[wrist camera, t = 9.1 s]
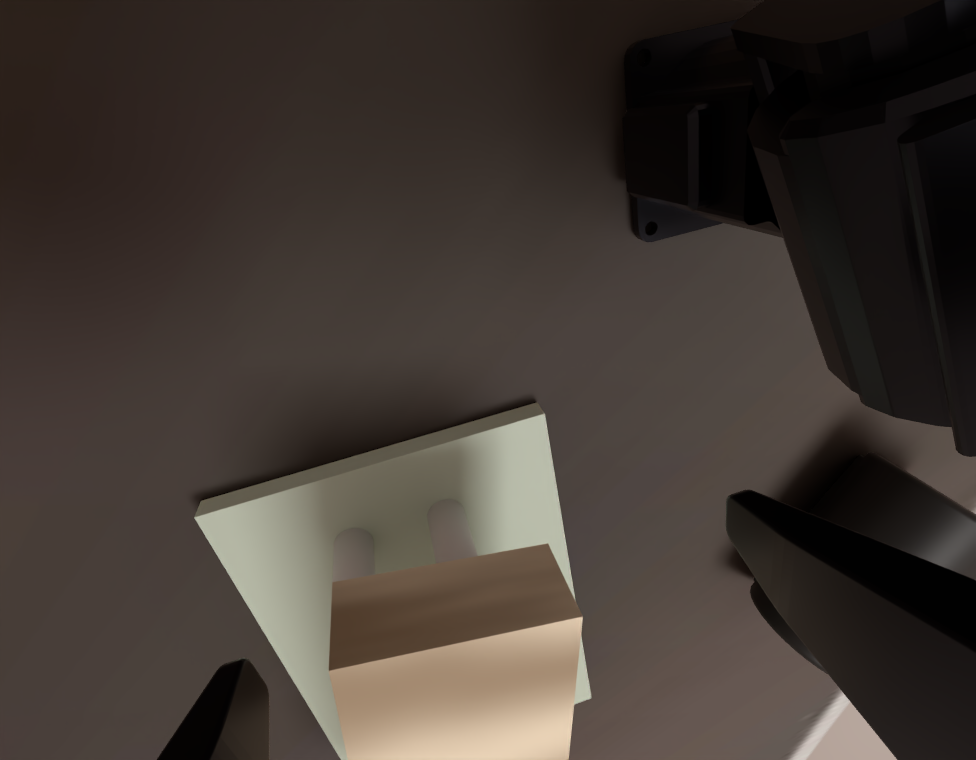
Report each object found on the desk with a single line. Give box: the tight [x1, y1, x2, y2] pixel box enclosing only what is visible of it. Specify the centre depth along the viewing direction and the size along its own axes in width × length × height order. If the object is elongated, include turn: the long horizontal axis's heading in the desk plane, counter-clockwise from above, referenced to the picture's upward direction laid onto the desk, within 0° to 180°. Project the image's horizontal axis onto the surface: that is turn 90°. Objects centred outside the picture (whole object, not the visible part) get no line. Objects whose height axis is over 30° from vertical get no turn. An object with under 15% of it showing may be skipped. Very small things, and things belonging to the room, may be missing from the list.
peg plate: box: [194, 403, 591, 760], centre depth 23 cm, size 20×14×6 cm
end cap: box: [750, 452, 976, 675], centre depth 27 cm, size 10×7×7 cm
